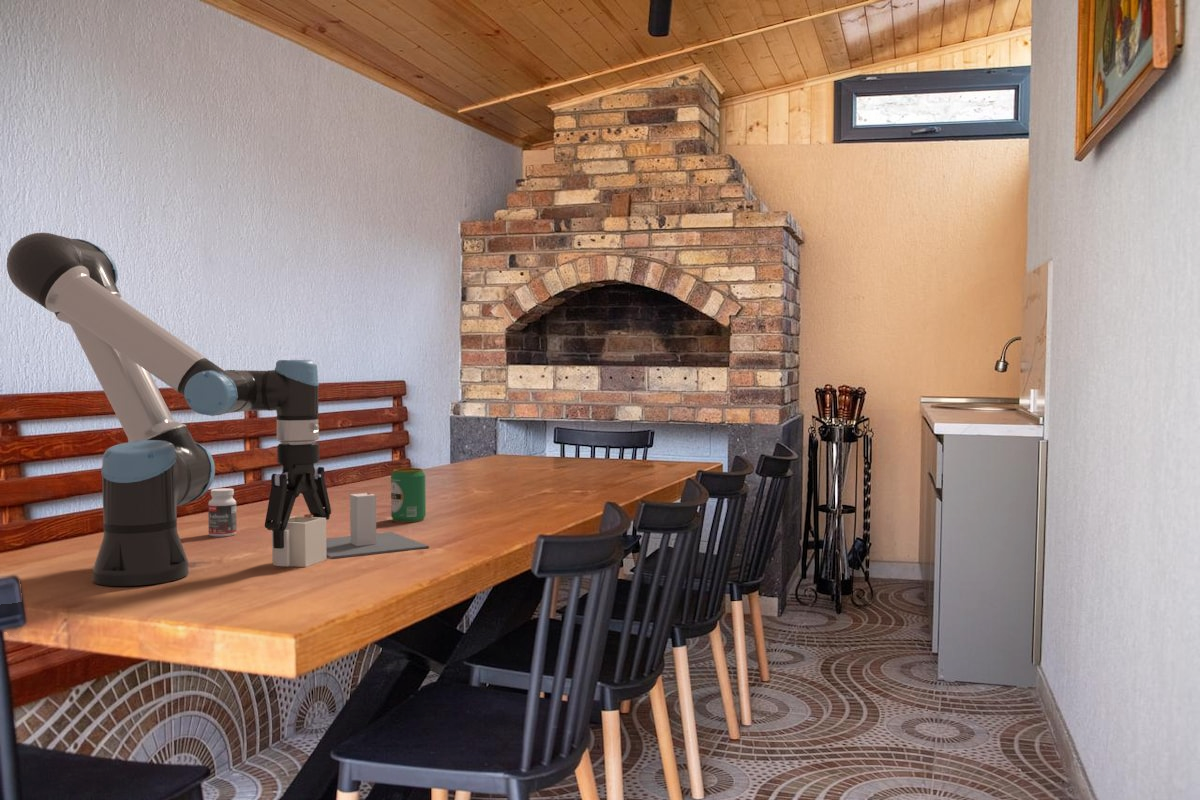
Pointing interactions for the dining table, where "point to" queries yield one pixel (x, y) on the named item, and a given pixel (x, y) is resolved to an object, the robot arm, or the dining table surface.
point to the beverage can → (408, 495)
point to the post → (367, 533)
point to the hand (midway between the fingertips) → (300, 559)
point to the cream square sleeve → (306, 540)
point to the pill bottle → (222, 513)
